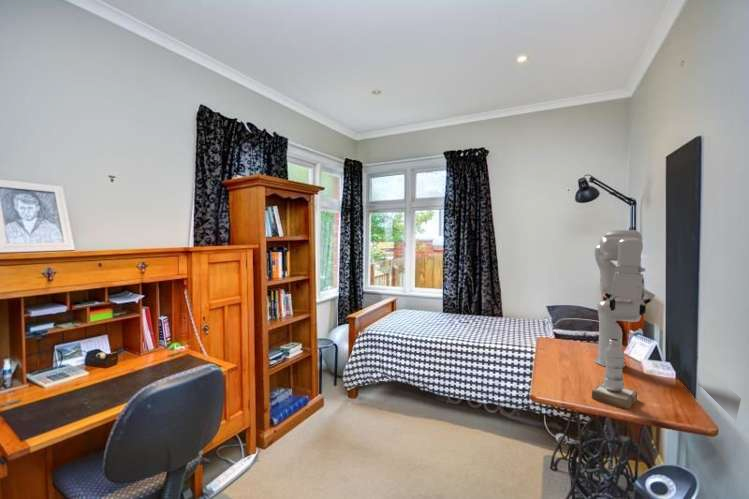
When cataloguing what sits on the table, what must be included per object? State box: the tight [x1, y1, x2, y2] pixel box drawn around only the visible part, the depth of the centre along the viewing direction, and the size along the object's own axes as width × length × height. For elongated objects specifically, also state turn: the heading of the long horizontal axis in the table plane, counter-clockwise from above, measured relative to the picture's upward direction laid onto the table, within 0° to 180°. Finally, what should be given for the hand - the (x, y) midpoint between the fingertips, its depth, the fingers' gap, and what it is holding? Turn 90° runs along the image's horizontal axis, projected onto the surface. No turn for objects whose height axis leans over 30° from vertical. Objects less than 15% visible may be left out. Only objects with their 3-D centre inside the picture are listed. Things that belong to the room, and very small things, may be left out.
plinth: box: [591, 381, 638, 410], centre depth 138 cm, size 12×12×3 cm
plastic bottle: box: [603, 339, 625, 392], centre depth 138 cm, size 6×7×20 cm
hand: (626, 312), depth 142 cm, fingers open, 9 cm apart
